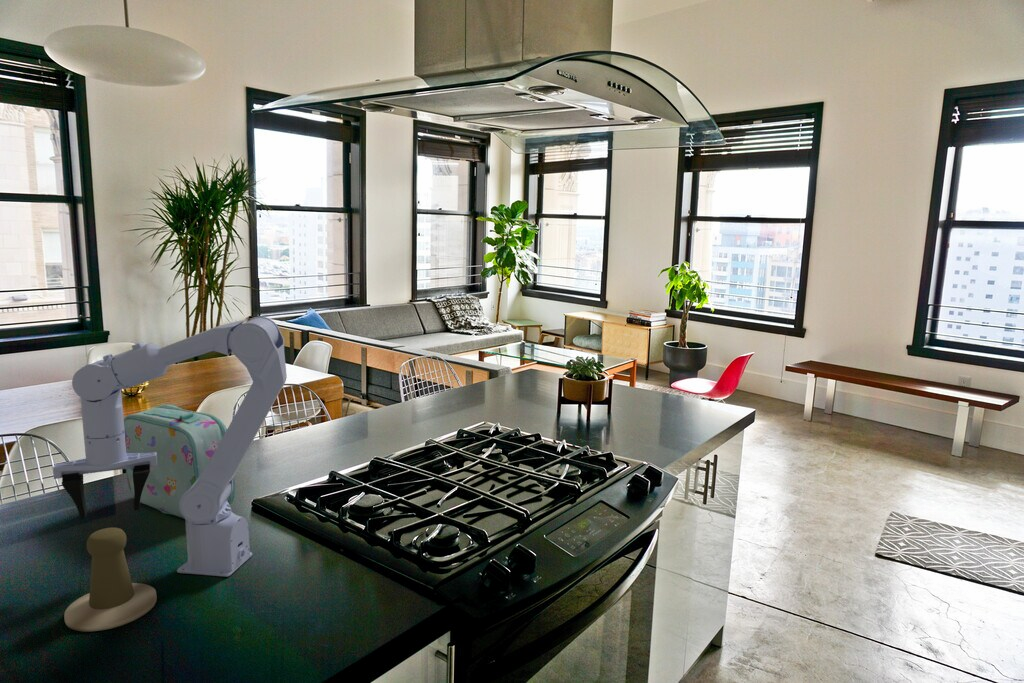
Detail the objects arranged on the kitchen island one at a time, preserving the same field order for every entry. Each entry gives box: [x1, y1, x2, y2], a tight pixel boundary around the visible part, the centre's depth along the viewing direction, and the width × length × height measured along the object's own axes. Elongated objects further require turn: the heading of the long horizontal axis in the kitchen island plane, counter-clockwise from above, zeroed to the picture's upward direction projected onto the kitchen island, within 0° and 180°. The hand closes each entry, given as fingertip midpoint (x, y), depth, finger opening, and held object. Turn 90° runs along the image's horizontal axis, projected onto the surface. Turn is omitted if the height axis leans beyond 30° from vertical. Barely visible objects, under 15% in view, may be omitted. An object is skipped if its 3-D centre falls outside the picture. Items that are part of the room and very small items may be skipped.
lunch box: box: [124, 404, 236, 520], centre depth 137 cm, size 27×10×21 cm, turn 61°
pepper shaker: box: [86, 527, 134, 609], centre depth 101 cm, size 6×6×11 cm
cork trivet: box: [63, 582, 158, 632], centre depth 100 cm, size 12×12×1 cm
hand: (110, 512), depth 110 cm, fingers open, 7 cm apart
